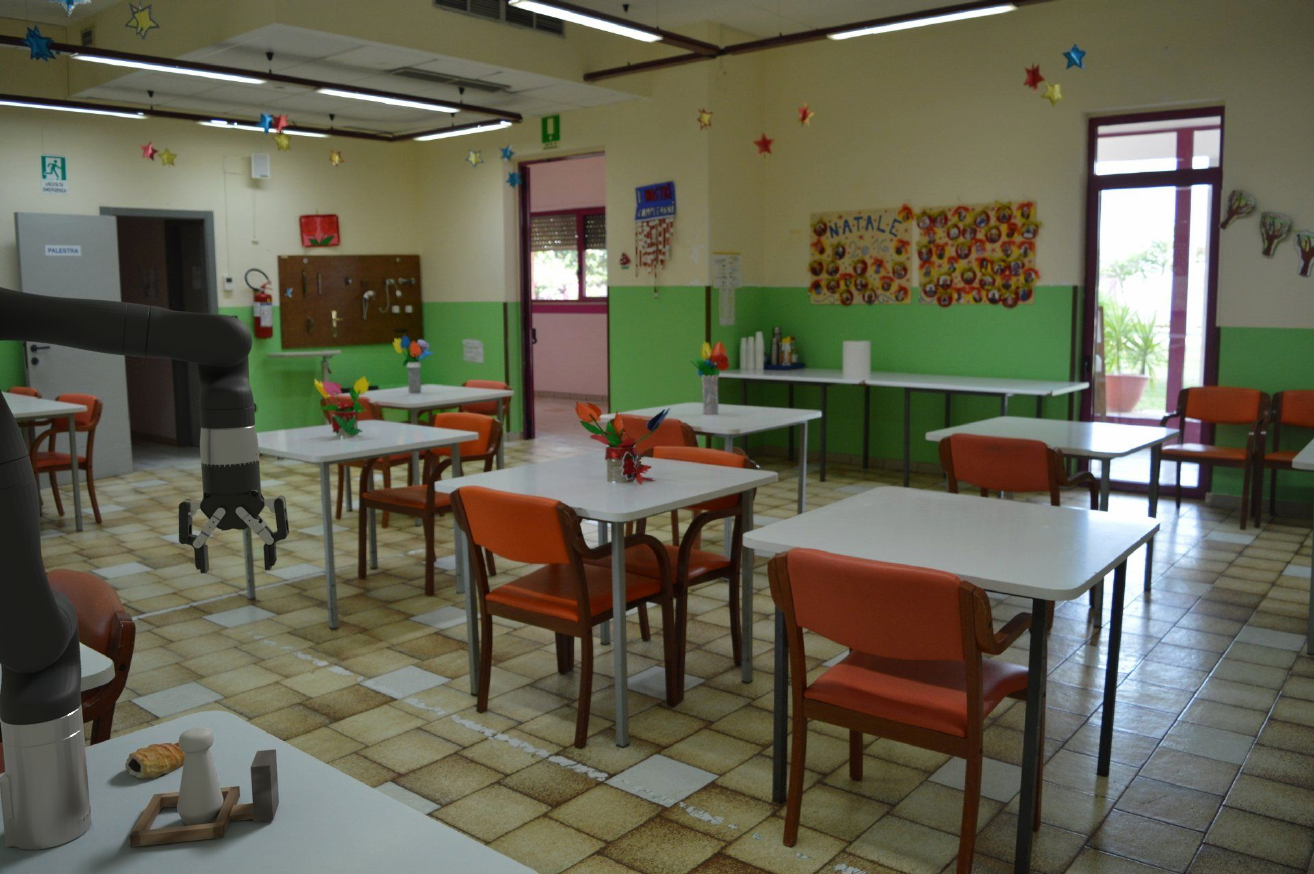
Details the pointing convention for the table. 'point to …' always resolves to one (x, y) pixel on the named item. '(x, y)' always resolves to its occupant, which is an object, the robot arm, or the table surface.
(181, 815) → the salt shaker
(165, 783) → the table surface
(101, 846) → the table surface
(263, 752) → the frame
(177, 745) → the pastry
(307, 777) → the table surface
